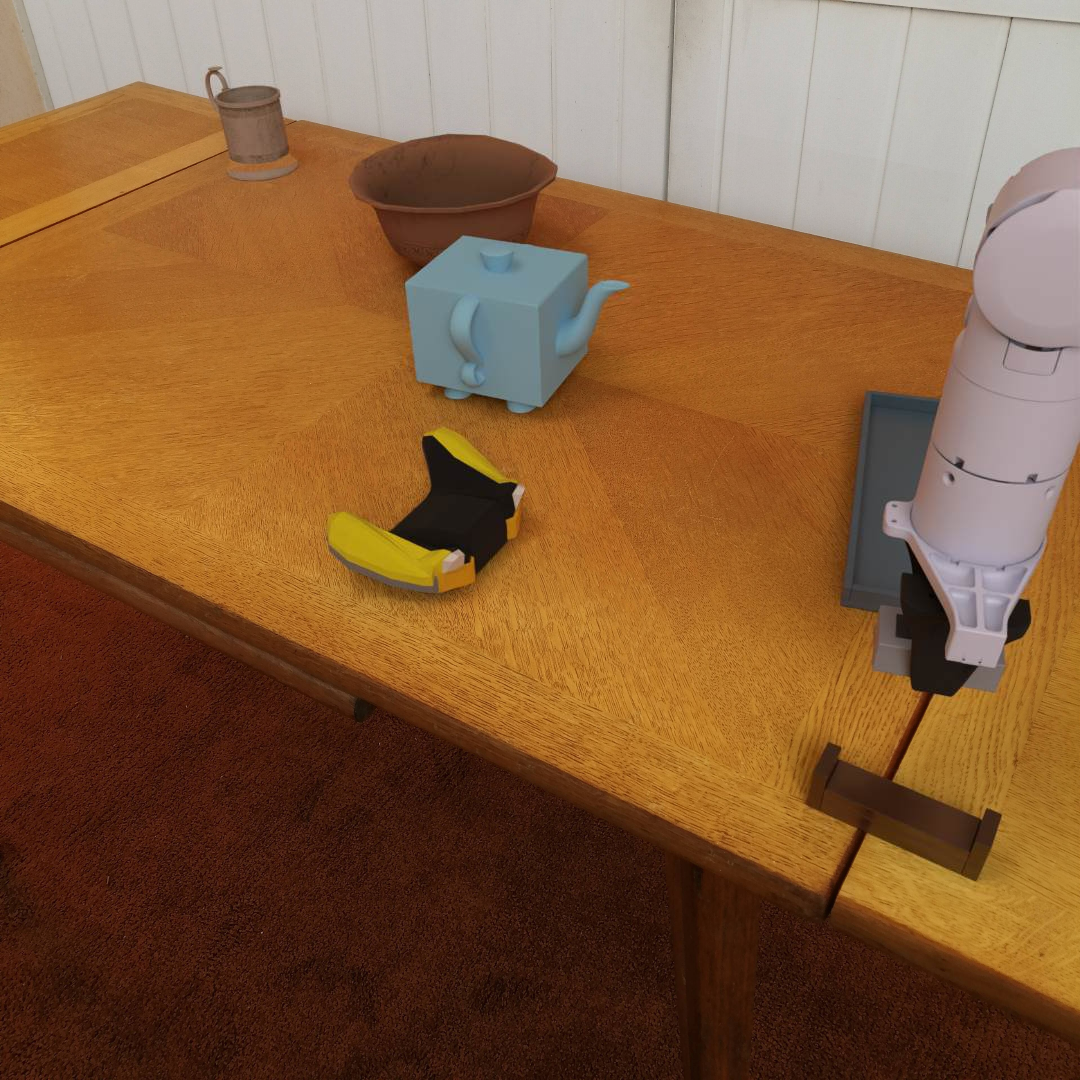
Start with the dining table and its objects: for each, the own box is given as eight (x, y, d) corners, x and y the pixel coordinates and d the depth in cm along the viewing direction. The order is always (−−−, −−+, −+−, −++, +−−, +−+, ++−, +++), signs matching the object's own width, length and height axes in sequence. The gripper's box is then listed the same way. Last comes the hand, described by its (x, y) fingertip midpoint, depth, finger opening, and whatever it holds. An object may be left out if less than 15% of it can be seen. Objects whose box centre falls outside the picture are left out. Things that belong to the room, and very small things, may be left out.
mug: (312, 165, 139) (296, 72, 131) (254, 185, 133) (233, 90, 125) (251, 145, 146) (232, 56, 139) (193, 163, 141) (170, 72, 133)
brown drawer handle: (987, 847, 53) (1002, 813, 51) (976, 882, 51) (991, 848, 50) (820, 774, 57) (828, 741, 55) (805, 805, 55) (812, 771, 53)
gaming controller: (322, 582, 71) (438, 629, 67) (308, 521, 68) (429, 567, 64) (442, 473, 81) (549, 508, 77) (435, 415, 77) (547, 448, 73)
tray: (985, 422, 84) (990, 404, 83) (998, 633, 65) (1005, 614, 64) (862, 406, 87) (866, 389, 85) (840, 605, 68) (844, 587, 66)
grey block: (992, 651, 52) (1003, 622, 51) (995, 693, 50) (1007, 663, 49) (873, 631, 54) (881, 601, 52) (871, 670, 51) (878, 641, 50)
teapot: (404, 410, 88) (385, 273, 80) (483, 332, 99) (474, 204, 91) (593, 453, 82) (594, 309, 74) (655, 365, 93) (662, 231, 85)
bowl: (547, 220, 121) (544, 127, 114) (573, 301, 104) (572, 197, 97) (364, 234, 119) (350, 140, 112) (360, 319, 102) (343, 214, 95)
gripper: (906, 354, 50) (859, 562, 58) (900, 533, 39) (844, 754, 48) (1060, 371, 48) (988, 582, 56) (1098, 563, 37) (1002, 787, 46)
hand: (932, 663), depth 52 cm, fingers closed on grey block, 3 cm apart
